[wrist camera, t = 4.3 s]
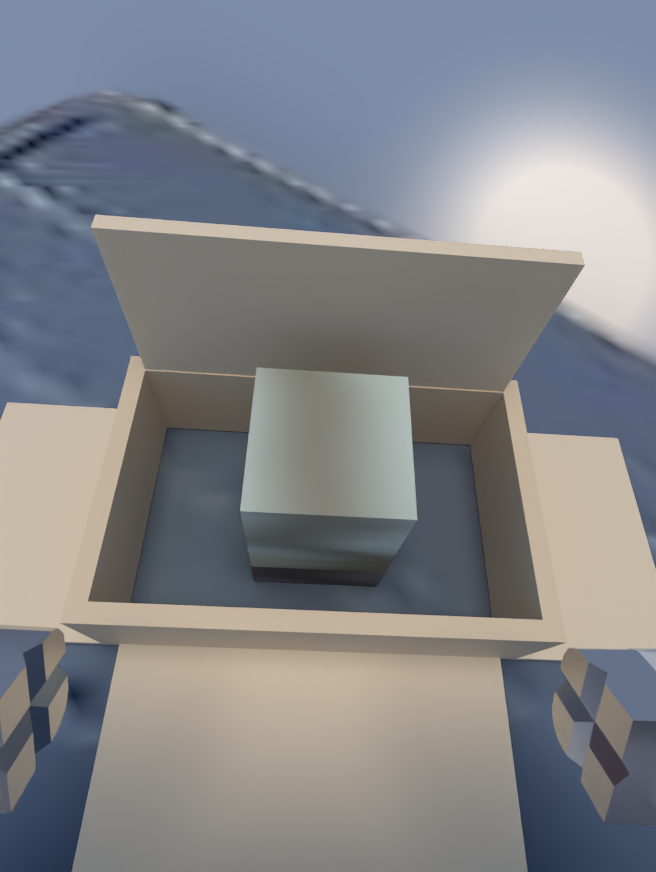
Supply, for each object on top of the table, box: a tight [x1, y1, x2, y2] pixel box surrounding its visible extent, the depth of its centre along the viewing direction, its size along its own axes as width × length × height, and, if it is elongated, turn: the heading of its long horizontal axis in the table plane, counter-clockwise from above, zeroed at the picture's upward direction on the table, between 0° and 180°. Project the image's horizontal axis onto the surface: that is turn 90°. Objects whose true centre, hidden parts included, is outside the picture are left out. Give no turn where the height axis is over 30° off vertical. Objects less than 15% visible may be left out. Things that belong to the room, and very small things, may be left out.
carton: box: [0, 215, 656, 872], centre depth 14 cm, size 26×15×10 cm, turn 89°
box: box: [240, 367, 417, 587], centre depth 17 cm, size 4×4×7 cm
